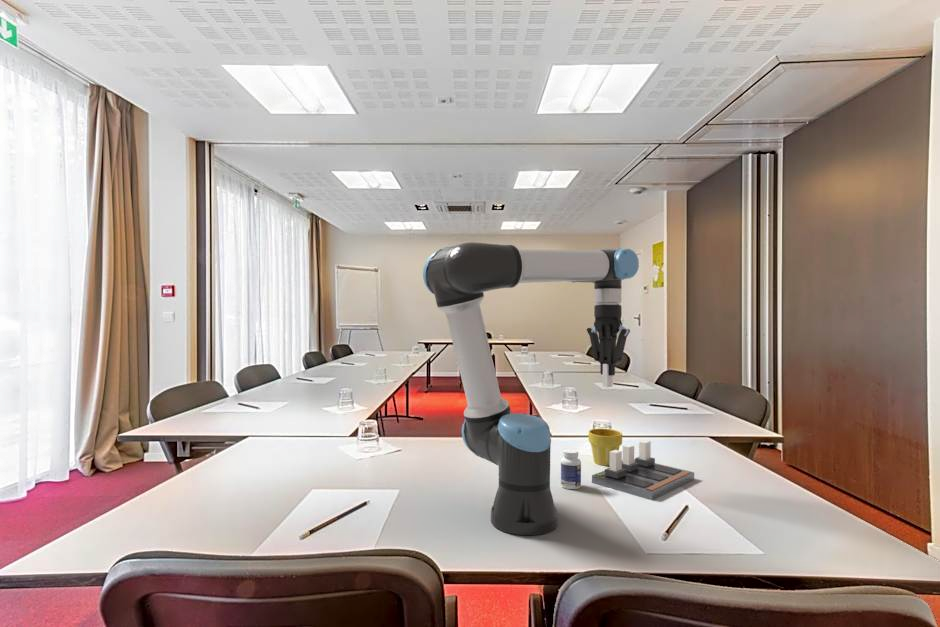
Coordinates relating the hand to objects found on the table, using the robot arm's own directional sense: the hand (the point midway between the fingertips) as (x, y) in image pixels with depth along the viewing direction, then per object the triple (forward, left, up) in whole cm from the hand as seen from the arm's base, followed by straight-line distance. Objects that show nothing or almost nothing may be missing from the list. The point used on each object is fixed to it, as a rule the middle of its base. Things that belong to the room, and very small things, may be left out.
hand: (607, 386), depth 146 cm
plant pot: (+13, +9, -27) cm, 31 cm away
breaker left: (-2, -4, -24) cm, 24 cm away
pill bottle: (-13, +3, -27) cm, 30 cm away
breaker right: (+14, -4, -24) cm, 28 cm away
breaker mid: (+6, -3, -24) cm, 25 cm away
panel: (+6, -8, -26) cm, 28 cm away
